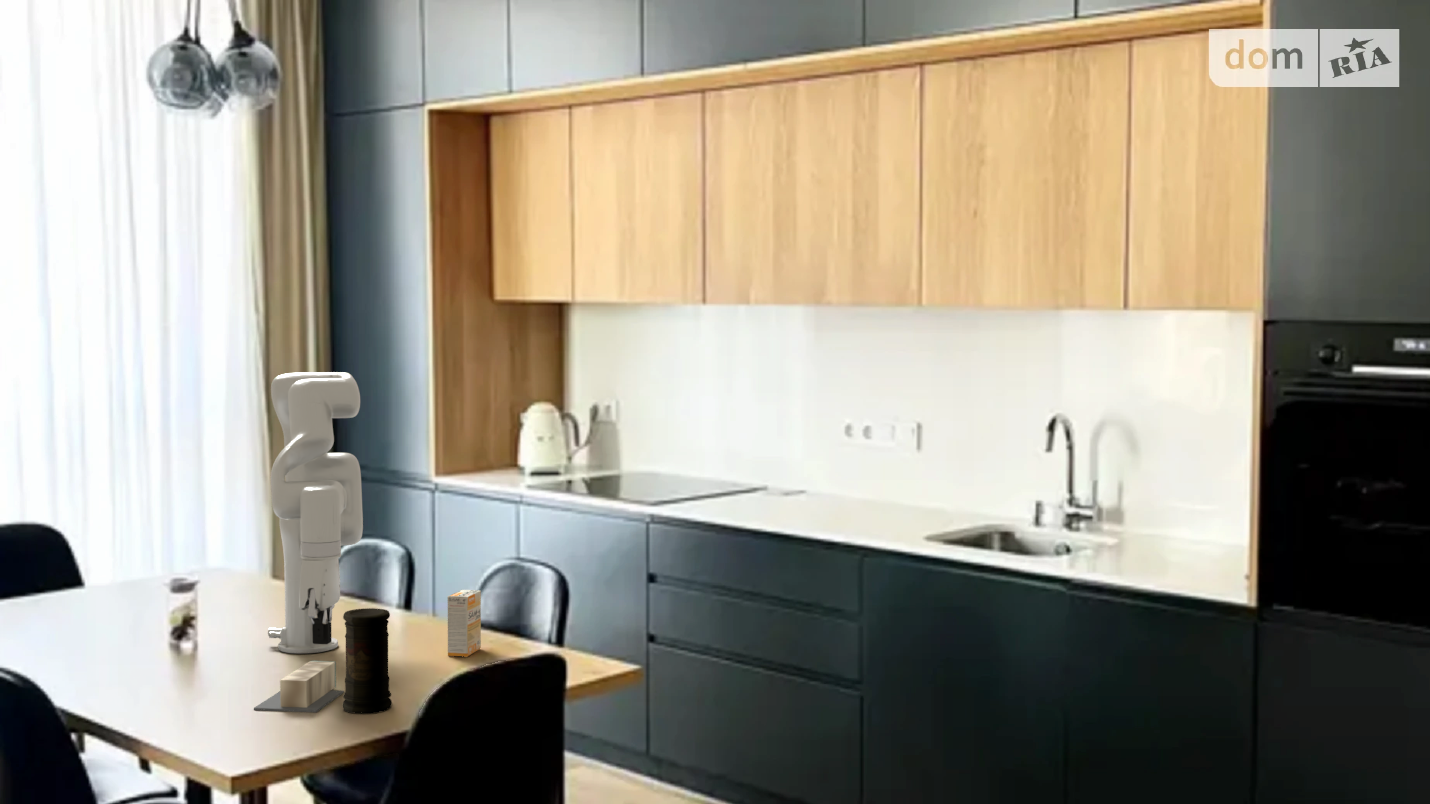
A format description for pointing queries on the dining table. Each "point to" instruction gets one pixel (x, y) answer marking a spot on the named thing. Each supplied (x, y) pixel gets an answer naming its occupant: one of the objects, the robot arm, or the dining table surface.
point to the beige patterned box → (308, 684)
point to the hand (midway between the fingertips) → (322, 642)
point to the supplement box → (464, 622)
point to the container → (366, 661)
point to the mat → (275, 705)
